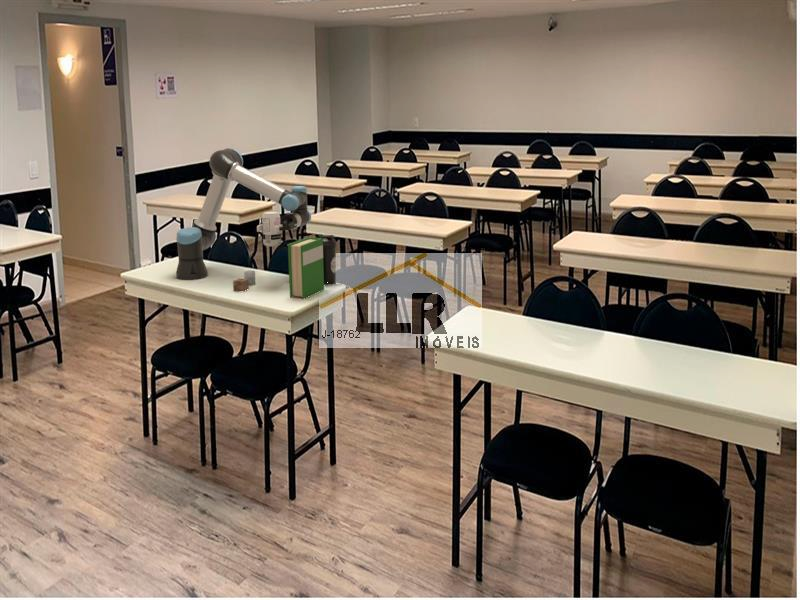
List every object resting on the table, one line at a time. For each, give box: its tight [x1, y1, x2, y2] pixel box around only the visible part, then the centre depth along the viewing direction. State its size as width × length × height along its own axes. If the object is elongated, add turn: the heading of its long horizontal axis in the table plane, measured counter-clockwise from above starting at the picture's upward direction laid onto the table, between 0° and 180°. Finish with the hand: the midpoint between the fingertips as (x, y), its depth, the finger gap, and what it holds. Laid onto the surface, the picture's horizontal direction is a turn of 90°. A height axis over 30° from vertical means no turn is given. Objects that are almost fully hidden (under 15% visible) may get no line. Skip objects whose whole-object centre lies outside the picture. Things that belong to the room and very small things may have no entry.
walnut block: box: [232, 277, 250, 292], centre depth 341 cm, size 5×5×5 cm
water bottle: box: [316, 234, 338, 286], centre depth 352 cm, size 10×10×23 cm
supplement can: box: [261, 210, 282, 247], centre depth 341 cm, size 8×8×15 cm
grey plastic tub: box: [243, 270, 257, 286], centre depth 352 cm, size 5×5×6 cm
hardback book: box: [287, 236, 325, 299], centre depth 333 cm, size 18×7×24 cm, turn 156°
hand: (266, 229), depth 336 cm, fingers closed on supplement can, 8 cm apart
